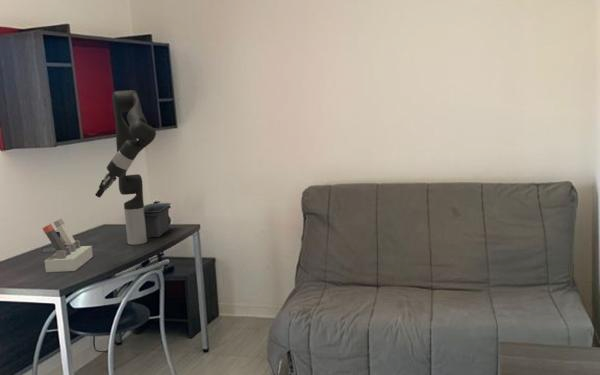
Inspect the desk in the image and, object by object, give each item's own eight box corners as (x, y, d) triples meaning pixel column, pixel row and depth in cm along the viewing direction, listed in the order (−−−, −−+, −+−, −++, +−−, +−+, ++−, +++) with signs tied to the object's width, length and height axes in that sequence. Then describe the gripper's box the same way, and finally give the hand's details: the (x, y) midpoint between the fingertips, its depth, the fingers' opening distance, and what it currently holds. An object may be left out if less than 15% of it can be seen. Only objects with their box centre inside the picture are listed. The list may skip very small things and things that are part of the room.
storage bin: (161, 239, 298) (159, 210, 296) (131, 239, 300) (128, 211, 298) (175, 229, 319) (172, 202, 317) (146, 230, 321) (144, 203, 319)
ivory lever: (74, 248, 266) (57, 220, 264) (78, 246, 266) (61, 218, 264) (70, 251, 262) (53, 222, 260) (75, 248, 262) (57, 220, 260)
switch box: (66, 258, 270) (64, 240, 269) (92, 256, 270) (90, 238, 269) (45, 272, 248) (43, 253, 247) (74, 270, 248) (72, 251, 247)
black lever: (64, 255, 255) (46, 226, 253) (69, 252, 255) (50, 223, 253) (60, 258, 251) (42, 228, 249) (65, 255, 251) (46, 225, 249)
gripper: (117, 155, 254) (95, 187, 257) (107, 160, 241) (84, 194, 244) (132, 166, 255) (110, 197, 258) (123, 171, 242) (99, 205, 245)
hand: (97, 196), depth 251 cm, fingers closed
